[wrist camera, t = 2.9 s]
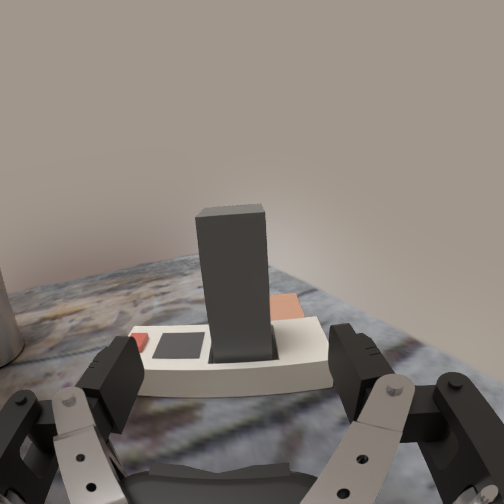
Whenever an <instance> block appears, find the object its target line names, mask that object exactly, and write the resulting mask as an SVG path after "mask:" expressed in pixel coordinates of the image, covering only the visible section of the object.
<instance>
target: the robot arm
mask: <svg viewBox="0 0 504 504" xmlns="http://www.w3.org/2000/svg"><path fill="white" fill-rule="evenodd" d="M23 346H24V340H23V338H22V335H21V332H20V330H19V327H18V324H17V322H16V319H15V316H14V313H13V310H12V307H11V304H10V301H9V298H8V294H7V291H6V288H5V285H4V281H3V277H2V273H1V270H0V367H1V366H4V365H6V364H7V363H9V362H10V361H12V360H13V359H14V358H15V357H16V356H17V355H18V354H19V353H20V352H21V350H22V349H23ZM328 366H329V371H330V373H331V376H332V378H333V381H334V383H335V386H336V388H337V391H338V393H339V396H340V399H341V401H342V404H343V406H344V409H345V412H346V414H347V417H348V419H349V422H350V427H349V429H348V430H347V432H346V434H345V436H344V437H343V439H342V441H341V442H340V444H339V446H338V448H337V449H336V451H335V452H334V454H333V456H332V457H331V459H330V460H329V462H328V464H327V465H326V467H325V468H324V470H323V471H322V473H321V474H320V476H319V477H315V476H313V475H309V474H305V473H300V472H292V471H290V468H289V463H280V464H269V465H254V466H250V467H246V468H241V469H237V470H233V471H228V472H223V473H212V472H208V471H204V470H199V469H195V468H192V467H188V466H184V465H173V464H162V463H153V462H152V463H151V466H150V470H149V471H145V472H140V473H136V474H132V475H130V476H128V475H127V473H126V471H125V470H124V468H123V466H122V464H121V462H120V460H119V458H118V456H117V454H116V452H115V449H114V447H113V445H112V443H111V441H110V439H109V438H108V437H109V435H110V432H111V433H117V434H122V431H123V429H124V426H125V424H126V421H127V419H128V416H129V414H130V411H131V409H132V406H133V404H134V402H135V399H136V397H137V394H138V392H139V390H140V387H141V385H142V383H143V380H144V374H145V372H144V366H143V362H142V359H141V356H140V353H139V349H138V346H137V343H136V340H135V338H134V337H132V336H116V337H115V338H114V340H113V341H112V343H111V344H110V346H109V347H106V348H104V349H103V350H102V351H100V352H99V353H98V354H97V355H96V357H95V358H94V359H93V362H91V364H90V365H89V368H87V370H86V371H85V372H84V374H83V375H82V377H81V378H80V380H79V381H78V383H77V384H76V386H75V387H67V388H64V389H62V390H60V391H58V392H57V393H56V394H55V395H54V397H53V399H52V400H44V401H38V399H37V397H36V396H35V394H34V393H33V392H32V391H30V390H21V391H18V392H16V393H15V394H13V395H12V396H11V397H10V398H9V400H8V401H7V402H6V404H5V405H4V407H3V408H2V409H1V411H0V504H44V502H45V499H46V497H47V494H48V491H49V489H50V486H51V484H52V481H53V479H54V476H55V474H56V471H57V469H58V466H59V467H60V471H61V474H62V478H63V481H64V485H65V488H66V491H67V494H68V497H69V500H70V503H71V504H373V503H374V501H375V499H376V497H377V495H378V492H379V490H380V488H381V486H382V484H383V482H384V479H385V477H386V475H387V473H388V470H389V468H390V465H391V463H392V460H393V458H394V455H395V453H396V450H397V448H398V445H399V443H410V442H417V443H418V445H419V448H420V450H421V452H422V454H423V456H424V459H425V461H426V463H427V466H428V468H429V470H430V473H431V475H432V477H433V480H434V482H435V484H436V487H437V489H438V492H439V494H440V497H441V499H442V502H443V504H504V424H503V422H502V421H501V420H500V418H499V417H498V416H497V414H496V413H495V411H494V410H493V409H492V407H491V406H490V405H489V403H488V402H487V401H486V399H485V398H484V397H483V396H482V394H481V393H480V392H479V390H478V389H477V388H476V387H475V385H474V384H473V383H472V382H471V380H470V379H469V378H468V377H467V376H465V375H463V374H461V373H457V372H448V373H445V374H443V375H441V376H440V377H439V378H438V380H437V383H436V385H427V386H416V385H414V383H413V382H412V380H411V379H409V378H408V377H406V376H404V375H400V374H395V373H394V371H393V370H392V368H391V367H390V365H389V364H388V362H387V361H386V359H385V358H384V356H383V355H382V354H381V352H380V350H379V349H378V348H377V346H376V345H375V343H374V342H373V340H372V339H371V338H369V337H368V336H366V335H365V334H363V333H359V334H356V333H355V331H354V330H353V328H352V326H351V325H350V324H349V323H345V324H338V325H331V326H330V331H329V347H328ZM26 436H28V437H29V438H30V440H31V441H32V442H33V443H32V444H31V446H30V448H29V450H28V452H27V454H26V456H25V458H24V460H22V459H21V457H20V447H21V445H22V443H23V442H24V440H25V438H26Z"/></svg>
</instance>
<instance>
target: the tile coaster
mask: <svg viewBox="0 0 504 504" xmlns="http://www.w3.org/2000/svg"><path fill="white" fill-rule="evenodd" d="M269 296H270V317H271V321H274V320H286V319H297V318H305V316H304V313H303V311H302V308H301V306H300V303H299V301H298V298H297V296H296V293H289V294H277V295H269Z"/></svg>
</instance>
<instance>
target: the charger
mask: <svg viewBox="0 0 504 504" xmlns="http://www.w3.org/2000/svg"><path fill="white" fill-rule="evenodd" d="M195 221H196V230H197V239H198V248H199V257H200V265H201V273H202V281H203V288H204V295H205V303H206V310H207V317H208V323H209V330H210V336H211V343H212V349H213V355H214V361H215V364H223V363H243V362H259V361H272V340H271V317H270V296H269V275H268V257H267V239H266V220H265V211H264V209H263V207H262V205H261V204H251V205H237V206H224V207H212V208H204V209H203V210H202V211H201V212H200V213H199V214H198V215H197V216H196V217H195Z"/></svg>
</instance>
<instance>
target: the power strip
mask: <svg viewBox="0 0 504 504" xmlns="http://www.w3.org/2000/svg"><path fill="white" fill-rule="evenodd" d="M129 336H132V337H134V338H135V340H136V343H137V346H138V349H139V353H140V356H141V359H142V362H143V366H144V372H145V374H144V380H143V383H142V385H141V387H140V390H139V392H138V394H137V395H141V396H157V397H186V398H213V397H243V396H259V395H272V394H283V393H293V392H301V391H309V390H317V389H324V388H330V387H333V378H332V376H331V373H330V371H329V366H328V347H329V343H328V341H327V338H326V336H325V334H324V332H323V330H322V328H321V325H320V323H319V321H318V319H317V317H307V318H297V319H286V320H274V321H271V340H272V361H259V362H243V363H223V364H215V361H214V355H213V349H212V343H211V336H210V330H209V325H185V326H134V328H133V329H132V331H131V332H130V334H129Z"/></svg>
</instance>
